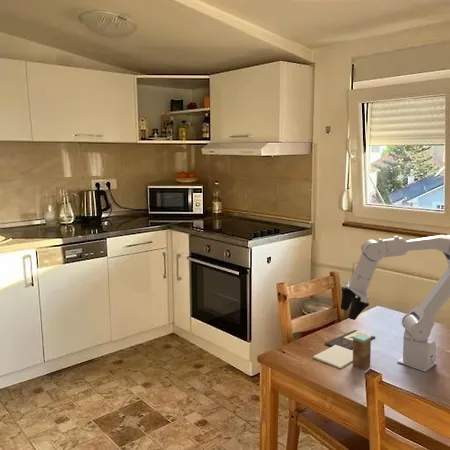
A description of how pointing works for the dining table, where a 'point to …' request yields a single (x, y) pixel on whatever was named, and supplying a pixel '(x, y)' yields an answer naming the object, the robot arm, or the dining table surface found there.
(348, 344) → the chocolate bar
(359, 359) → the walnut block
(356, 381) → the dining table surface
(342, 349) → the thin cream panel
